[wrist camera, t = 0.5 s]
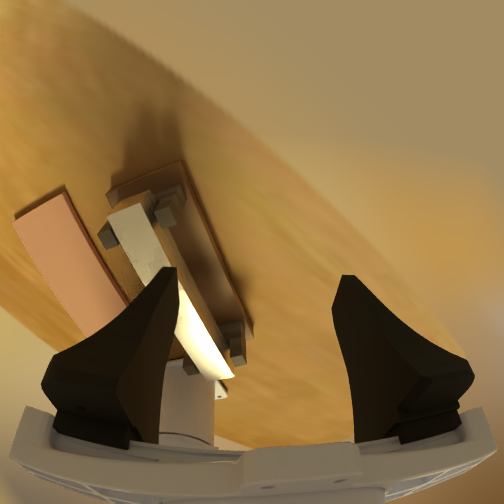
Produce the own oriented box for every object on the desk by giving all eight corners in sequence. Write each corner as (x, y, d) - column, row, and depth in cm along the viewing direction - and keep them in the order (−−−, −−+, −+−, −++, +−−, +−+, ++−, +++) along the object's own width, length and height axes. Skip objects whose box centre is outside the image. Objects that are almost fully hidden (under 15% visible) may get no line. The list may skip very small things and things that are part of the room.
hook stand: (253, 329, 29) (256, 372, 25) (195, 343, 30) (191, 385, 26) (181, 159, 21) (165, 182, 17) (110, 188, 22) (82, 217, 17)
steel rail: (233, 355, 27) (234, 376, 25) (208, 361, 27) (207, 381, 25) (150, 188, 19) (140, 202, 17) (119, 201, 19) (106, 216, 17)
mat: (107, 357, 31) (106, 361, 31) (15, 220, 22) (11, 223, 22) (159, 347, 30) (158, 351, 30) (65, 190, 22) (61, 193, 21)
